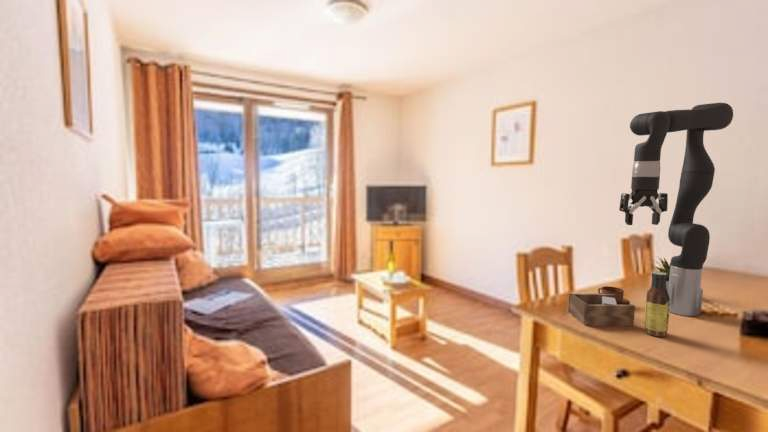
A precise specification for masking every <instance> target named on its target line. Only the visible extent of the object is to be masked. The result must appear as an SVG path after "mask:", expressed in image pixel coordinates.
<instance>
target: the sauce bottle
mask: <svg viewBox="0 0 768 432" xmlns="http://www.w3.org/2000/svg"><path fill="white" fill-rule="evenodd" d="M666 279H667V274H666V273H662V272H660V271H652V272H651V284H650V288H648V290H647V291H646V297H645V298H646V299H645V309H644V323H643V326H644V332H645V333H646V334H648V335H651V336H653V337H660V338H663V337H667V335H668V331H669V319H670V311H669V306H670V298H669V295H668V291H667V288H666Z"/></svg>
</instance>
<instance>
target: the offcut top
mask: <svg viewBox="0 0 768 432" xmlns="http://www.w3.org/2000/svg"><path fill="white" fill-rule="evenodd" d="M601 305H617V303H616V300H615V298H611V297H604V296H602V303H601Z"/></svg>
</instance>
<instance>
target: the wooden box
mask: <svg viewBox="0 0 768 432" xmlns="http://www.w3.org/2000/svg"><path fill="white" fill-rule="evenodd" d="M602 296H604V297H611V298H615V294H602V293H601V294H599V293H569V294H568V308H567V312H568V313H569V314H570V313H571V314H572V315H571V314H570V315H571V316H572V317H573V318H575V319H576V318H577V319H576V320H577V321H579V322H580V323H581V324H583V325H584V326H586V327H587V326H588V327H589V326H590V327H591V326H593V327H594V326H596V327H597V326H599V327H600V326H602V327H603V326H604V327H612V326H613V327H634V323H635V312H636V306H635V305H634V304H629V305H601V303H602Z"/></svg>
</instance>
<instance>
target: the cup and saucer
mask: <svg viewBox="0 0 768 432" xmlns="http://www.w3.org/2000/svg"><path fill="white" fill-rule="evenodd" d="M600 291H601V292H600ZM624 293H625V291H624V289H622V288H620V287H617V286H608V285H607V286H602V287H599V288H598V289H597V294H615V300H616V303H617V305H631V304H630V303H631V302H630V300H628V299H627V298H625V297H624Z"/></svg>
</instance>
